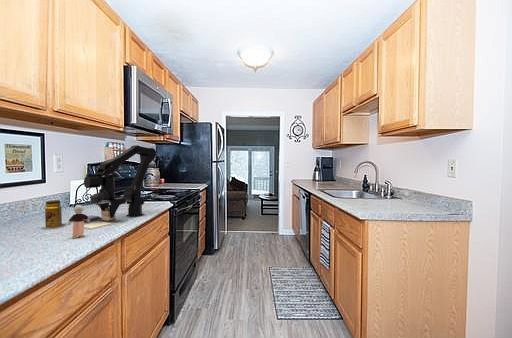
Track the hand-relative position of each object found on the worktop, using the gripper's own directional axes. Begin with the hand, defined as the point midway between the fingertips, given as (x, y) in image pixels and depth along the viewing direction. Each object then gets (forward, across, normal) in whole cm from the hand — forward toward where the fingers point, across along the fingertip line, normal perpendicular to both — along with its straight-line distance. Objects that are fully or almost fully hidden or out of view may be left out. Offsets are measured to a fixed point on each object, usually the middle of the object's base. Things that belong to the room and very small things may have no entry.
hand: (108, 217), depth 140 cm
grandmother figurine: (+2, +17, -26) cm, 30 cm away
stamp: (+2, 0, 0) cm, 2 cm away
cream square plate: (+2, +4, -10) cm, 11 cm away
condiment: (+2, -11, -19) cm, 22 cm away
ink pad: (+2, -9, -5) cm, 10 cm away
